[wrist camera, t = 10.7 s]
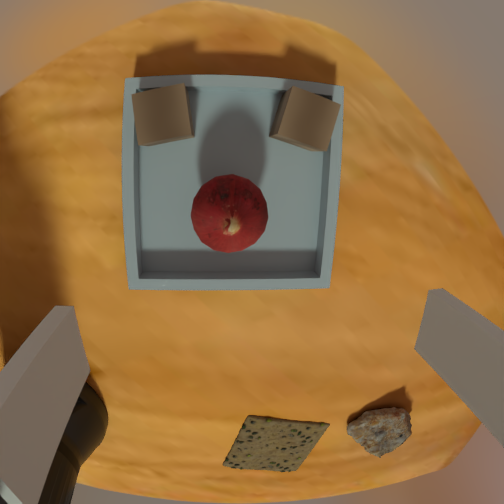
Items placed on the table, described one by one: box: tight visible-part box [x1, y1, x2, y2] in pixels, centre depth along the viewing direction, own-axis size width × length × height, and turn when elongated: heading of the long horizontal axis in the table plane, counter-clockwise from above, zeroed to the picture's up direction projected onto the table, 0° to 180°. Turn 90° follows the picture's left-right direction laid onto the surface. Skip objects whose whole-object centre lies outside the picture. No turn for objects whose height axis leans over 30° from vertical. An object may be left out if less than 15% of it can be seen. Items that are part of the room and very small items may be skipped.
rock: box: [347, 407, 412, 458], centre depth 37 cm, size 9×6×10 cm
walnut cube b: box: [269, 86, 341, 151], centre depth 24 cm, size 4×4×4 cm
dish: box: [122, 75, 344, 290], centre depth 27 cm, size 18×18×2 cm
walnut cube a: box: [131, 83, 195, 146], centre depth 23 cm, size 4×4×4 cm
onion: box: [191, 174, 268, 253], centre depth 24 cm, size 6×6×8 cm
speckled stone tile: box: [223, 415, 330, 472], centre depth 38 cm, size 12×12×1 cm
